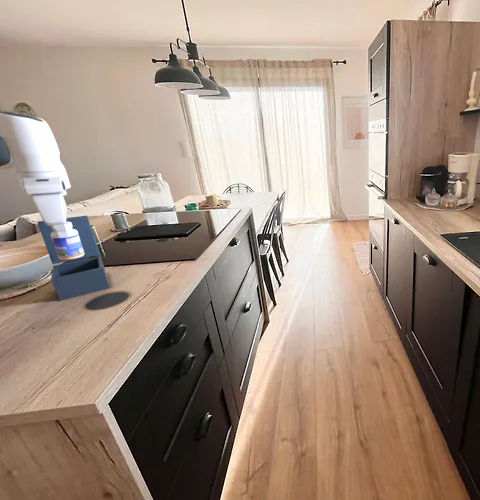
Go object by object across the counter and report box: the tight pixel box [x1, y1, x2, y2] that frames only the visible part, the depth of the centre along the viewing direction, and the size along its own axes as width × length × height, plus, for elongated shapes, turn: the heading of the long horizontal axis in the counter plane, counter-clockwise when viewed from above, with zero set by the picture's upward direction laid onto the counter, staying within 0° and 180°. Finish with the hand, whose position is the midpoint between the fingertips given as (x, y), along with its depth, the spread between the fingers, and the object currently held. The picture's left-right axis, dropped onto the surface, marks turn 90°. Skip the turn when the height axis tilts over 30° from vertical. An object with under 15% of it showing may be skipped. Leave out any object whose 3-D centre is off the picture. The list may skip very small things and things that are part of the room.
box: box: [50, 256, 111, 301], centre depth 83 cm, size 12×11×7 cm
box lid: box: [36, 214, 101, 265], centre depth 84 cm, size 12×11×1 cm
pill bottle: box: [51, 222, 84, 260], centre depth 79 cm, size 5×5×10 cm
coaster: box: [85, 291, 130, 311], centre depth 77 cm, size 9×9×1 cm
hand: (64, 234), depth 78 cm, fingers closed on pill bottle, 5 cm apart
